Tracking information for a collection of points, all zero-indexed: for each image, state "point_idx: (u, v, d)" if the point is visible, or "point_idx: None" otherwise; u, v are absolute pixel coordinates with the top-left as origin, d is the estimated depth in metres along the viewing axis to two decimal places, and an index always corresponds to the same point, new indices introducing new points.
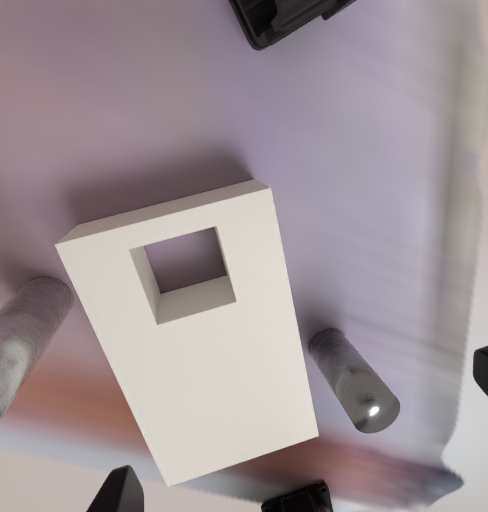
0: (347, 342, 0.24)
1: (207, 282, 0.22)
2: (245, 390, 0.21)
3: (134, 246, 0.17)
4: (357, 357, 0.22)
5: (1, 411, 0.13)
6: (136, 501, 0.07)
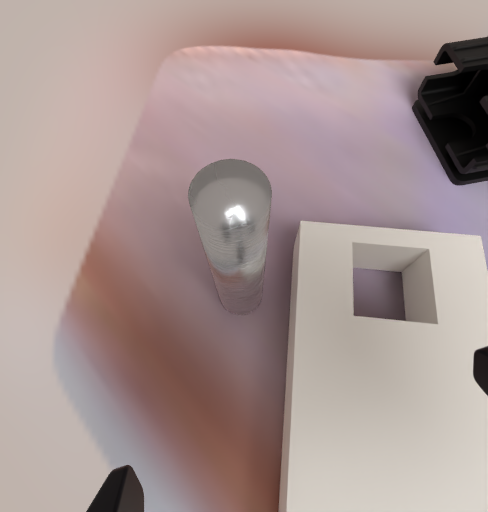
0: None
1: None
2: (434, 453, 0.16)
3: (357, 241, 0.20)
4: None
5: (263, 248, 0.15)
6: (136, 501, 0.07)
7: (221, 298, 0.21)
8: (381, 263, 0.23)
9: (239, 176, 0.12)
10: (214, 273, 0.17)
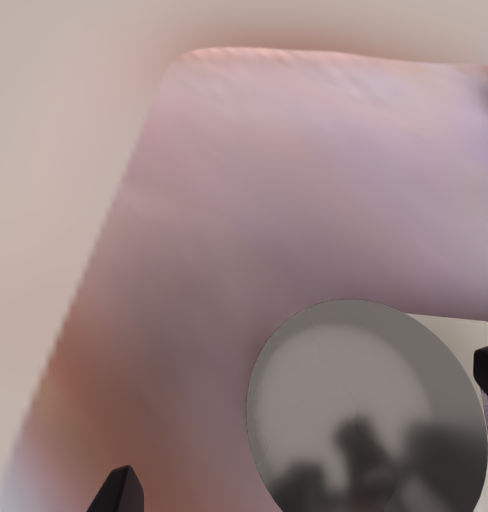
0: None
1: None
2: None
3: None
4: None
5: None
6: (136, 501, 0.07)
7: None
8: None
9: (380, 354, 0.05)
10: None
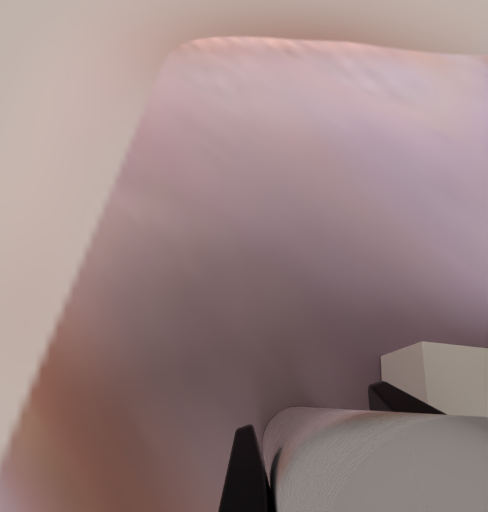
0: None
1: None
2: None
3: None
4: None
5: None
6: None
7: None
8: None
9: None
10: None
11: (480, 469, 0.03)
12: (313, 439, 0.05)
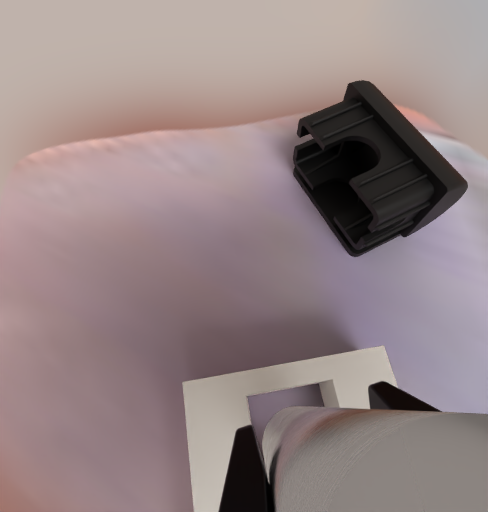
0: None
1: None
2: None
3: (252, 392, 0.17)
4: None
5: None
6: None
7: None
8: (292, 387, 0.20)
9: None
10: None
11: (476, 466, 0.03)
12: (311, 437, 0.05)
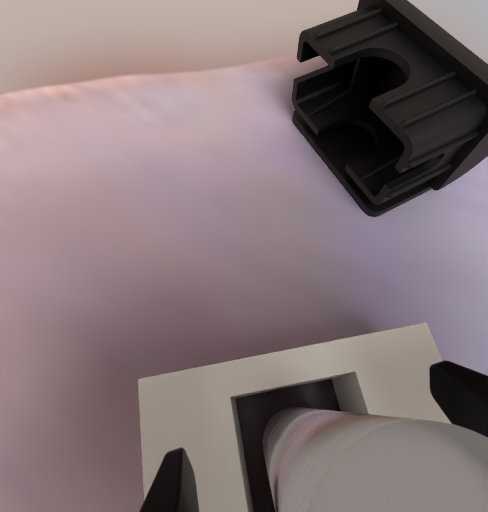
0: None
1: None
2: None
3: (238, 392, 0.12)
4: None
5: None
6: (191, 482, 0.07)
7: None
8: (296, 385, 0.14)
9: (469, 505, 0.03)
10: None
11: (427, 460, 0.04)
12: (305, 437, 0.06)
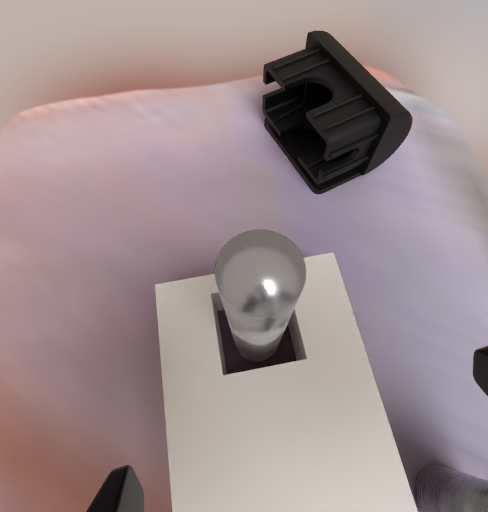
0: None
1: None
2: (323, 502, 0.15)
3: (216, 291, 0.19)
4: None
5: None
6: (136, 501, 0.07)
7: (237, 347, 0.20)
8: None
9: (269, 250, 0.11)
10: (234, 333, 0.16)
11: (259, 239, 0.11)
12: None
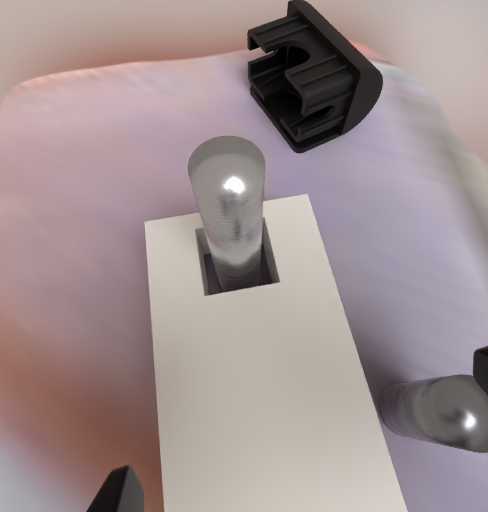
0: None
1: None
2: (290, 397, 0.17)
3: (199, 227, 0.21)
4: None
5: (259, 223, 0.15)
6: (136, 501, 0.07)
7: (220, 279, 0.22)
8: None
9: (235, 151, 0.13)
10: (212, 250, 0.18)
11: (226, 143, 0.13)
12: None
